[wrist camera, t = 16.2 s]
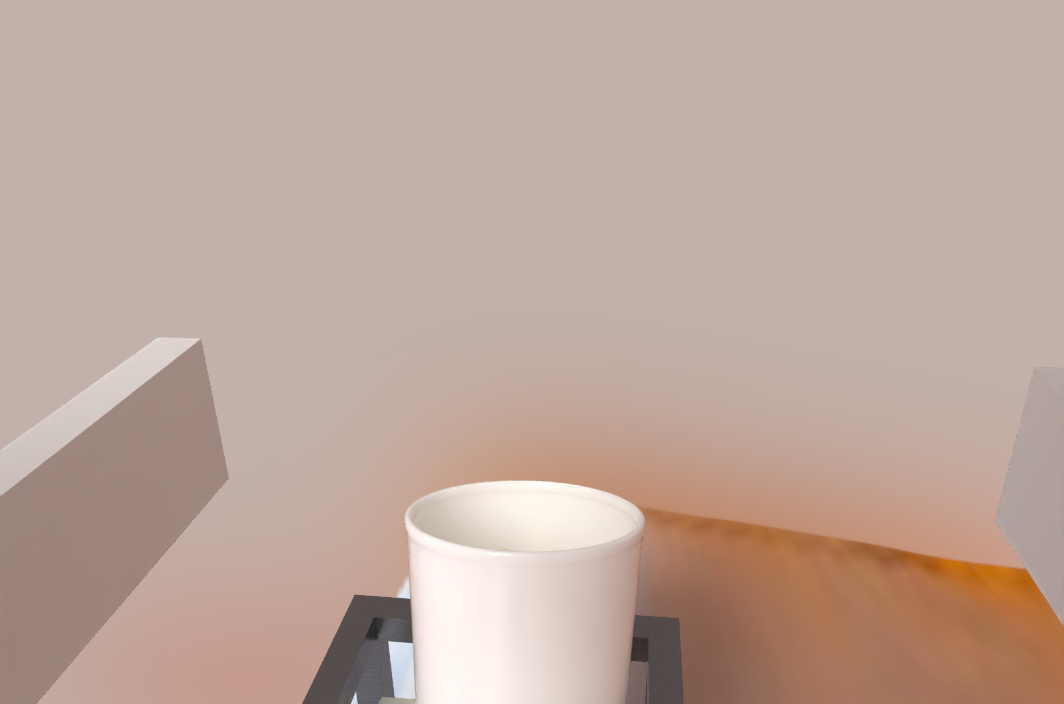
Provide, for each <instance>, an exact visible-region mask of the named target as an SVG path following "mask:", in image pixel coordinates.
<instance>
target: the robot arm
mask: <svg viewBox="0 0 1064 704" xmlns="http://www.w3.org/2000/svg"><path fill="white" fill-rule="evenodd" d="M228 479H229V477H228V472H227V467H226V462H225V457H224V452H223V447H222V442H221V437H220V432H219V427H218V422H217V417H216V412H215V407H214V402H213V396H212V391H211V386H210V381H209V377H208V372H207V367H206V362H205V356H204V351H203V346H202V342H201V339H194V338H165V337H158V338H157V339H156V340H154V341H153V342H151V343H150V344H148V345H147V346H146V347H144V348H143V349H141V350H140V351H139V352H137V353H136V354H134V355H133V356H132V357H130V358H129V359H127V360H126V361H125V362H123V363H122V364H120V365H119V366H118V367H116V368H115V369H113V370H112V371H110V372H109V373H108V374H106V375H105V376H104V377H102V378H101V379H99V380H98V381H97V382H95V383H94V384H92V385H91V386H90V387H88V388H87V389H85V390H84V391H83V392H81V393H80V394H79V395H77V396H76V397H74V398H73V399H71V400H70V401H68V402H67V403H66V404H64V405H63V406H62V407H60V408H59V409H58V410H56V411H54V412H53V413H52V414H50V415H49V416H47V417H46V418H45V419H43V420H42V421H40V422H39V423H38V424H37V425H35V426H33V427H32V428H31V429H29V430H28V431H27V432H25V433H24V434H22V435H21V436H20V437H18V438H17V439H15V440H14V441H13V442H11V443H10V444H8V445H7V446H5V447H4V448H3V449H1V450H0V704H37V702H38V701H39V700H40V699H41V698H42V696H43V695H44V694H45V693H46V692H47V691H48V690H49V688H50V687H51V686H52V685H53V684H54V682H55V681H56V680H57V679H58V678H59V677H60V675H61V674H62V673H63V672H64V671H65V670H66V668H67V667H68V666H69V665H70V664H71V663H72V661H73V660H74V659H75V658H76V657H77V656H78V654H79V653H80V652H81V651H82V650H83V648H84V647H85V646H86V645H87V644H88V642H89V641H90V640H91V639H92V638H93V637H94V636H95V634H96V633H97V632H98V631H99V630H100V628H101V627H102V626H103V625H104V624H105V623H106V622H107V620H108V619H109V618H110V617H111V616H112V615H113V613H114V612H115V611H116V610H117V609H118V607H119V606H120V605H121V604H122V603H123V602H124V600H125V599H126V598H127V597H128V596H129V595H130V593H131V592H132V591H133V590H134V589H135V588H136V586H137V585H138V584H139V583H140V582H141V581H142V579H143V578H144V577H145V576H146V575H147V573H148V572H149V571H150V570H151V569H152V568H153V566H154V565H155V564H156V563H157V562H158V561H159V559H160V558H161V557H162V556H163V555H164V554H165V552H166V551H167V550H168V549H169V548H170V547H171V545H172V544H173V543H174V542H175V541H176V540H177V538H178V537H179V536H180V535H181V534H182V533H183V531H184V530H185V529H186V528H187V527H188V525H189V524H190V523H191V522H192V521H193V520H194V518H195V517H196V516H197V515H198V514H199V513H200V511H201V510H202V509H203V508H204V507H205V506H206V504H207V503H208V502H209V501H210V500H211V498H212V497H213V496H214V495H215V494H216V493H217V491H218V490H219V489H220V488H221V487H222V486H223V484H224V483H225V482H226V481H227V480H228ZM995 522H996V523H997V525H998V527H999V528H1000V529H1001V531H1002V533H1003V534H1004V536H1005V537H1006V539H1007V540H1008V542H1009V543H1010V545H1011V546H1012V548H1013V549H1014V551H1015V552H1016V554H1017V556H1018V557H1019V559H1020V560H1021V562H1022V563H1023V565H1024V566H1025V568H1026V569H1027V571H1028V572H1029V574H1030V575H1031V577H1032V579H1033V580H1034V582H1035V583H1036V585H1037V586H1038V588H1039V589H1040V591H1041V592H1042V594H1043V595H1044V597H1045V598H1046V600H1047V601H1048V603H1049V605H1050V606H1051V608H1052V609H1053V611H1054V612H1055V614H1056V615H1057V617H1058V618H1059V620H1060V621H1061V623H1062V624H1063V626H1064V368H1054V367H1052V368H1051V367H1034V369H1033V373H1032V377H1031V381H1030V385H1029V389H1028V393H1027V397H1026V401H1025V405H1024V409H1023V413H1022V417H1021V420H1020V425H1019V428H1018V433H1017V436H1016V441H1015V444H1014V448H1013V453H1012V456H1011V460H1010V464H1009V468H1008V472H1007V476H1006V480H1005V484H1004V488H1003V492H1002V496H1001V499H1000V503H999V507H998V512H997V515H996V519H995Z"/></svg>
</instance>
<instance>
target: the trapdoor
mask: <svg viewBox="0 0 1064 704" xmlns="http://www.w3.org/2000/svg"><path fill="white" fill-rule="evenodd" d="M378 704H416V700H415V699H404V698H393V697H382V698H381V699H380V701H379V703H378Z"/></svg>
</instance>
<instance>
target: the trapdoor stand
mask: <svg viewBox="0 0 1064 704" xmlns="http://www.w3.org/2000/svg"><path fill="white" fill-rule="evenodd" d="M388 641H393V642H406V643H413V639H412V620H411V602H410V599H406V598H392V597H378V596H364V595H354V598H353V600H352V602H351V604H350V606H349V608H348V610H347V612H346V614H345V616H344V618H343V621H342V622H341V625H340V627H339V629H338V631H337V633H336V635H335V637H334V639H333V641H332V643H331V645H330V647H329V649H328V652H327V654H326V656H325V658H324V660H323V662H322V664H321V666H320V668H319V670H318V672H317V675H316V676H315V678H314V681H313V683H312V685H311V687H310V689H309V691H308V693H307V695H306V697H305V699H304V701H303V703H302V704H351V702H352V699H353V697H354V694H355V692H356V694H357V701H358V704H378V703H379V701H380V699H381V698H382V697H393V698H395V696H394V688H393V679H392V671H391V662H390V654H389V645H388ZM631 661H642V662H646V674H645V694H644V704H683V688H682V668H681V649H680V629H679V619H678V618H665V617H651V616H637V615H635V621H634V631H633V642H632V652H631Z"/></svg>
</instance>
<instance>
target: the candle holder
mask: <svg viewBox="0 0 1064 704" xmlns="http://www.w3.org/2000/svg"><path fill="white" fill-rule="evenodd" d="M404 525H405V530H406V535H407V548H408V565H409V583H410V602H411V620H412V639H413V657H414V676H415V694H416V704H627V695H628V684H629V674H630V663H631V652H632V642H633V631H634V621H635V610H636V599H637V589H638V578H639V568H640V558H641V548H642V540H643V535H644V532H645V518H644V515H643V513H642V512H641V511H640V509H639V508H638V507H636V506H635V505H634V504H632V503H631V502H629V501H627V500H626V499H624V498H621V497H619V496H617V495H614V494H611V493H608V492H605V491H602V490H598V489H594V488H589V487H584V486H579V485H573V484H566V483H557V482H546V481H521V480H520V481H491V482H480V483H472V484H465V485H460V486H454V487H450V488H446V489H442V490H439V491H436V492H433V493H430V494H428V495H425V496H424V497H421V498H420V499H418V500H416V501H415V502H414V503H412V504H411V505H410V506H409V508H408V509H407V511H406V513H405V517H404Z"/></svg>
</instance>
